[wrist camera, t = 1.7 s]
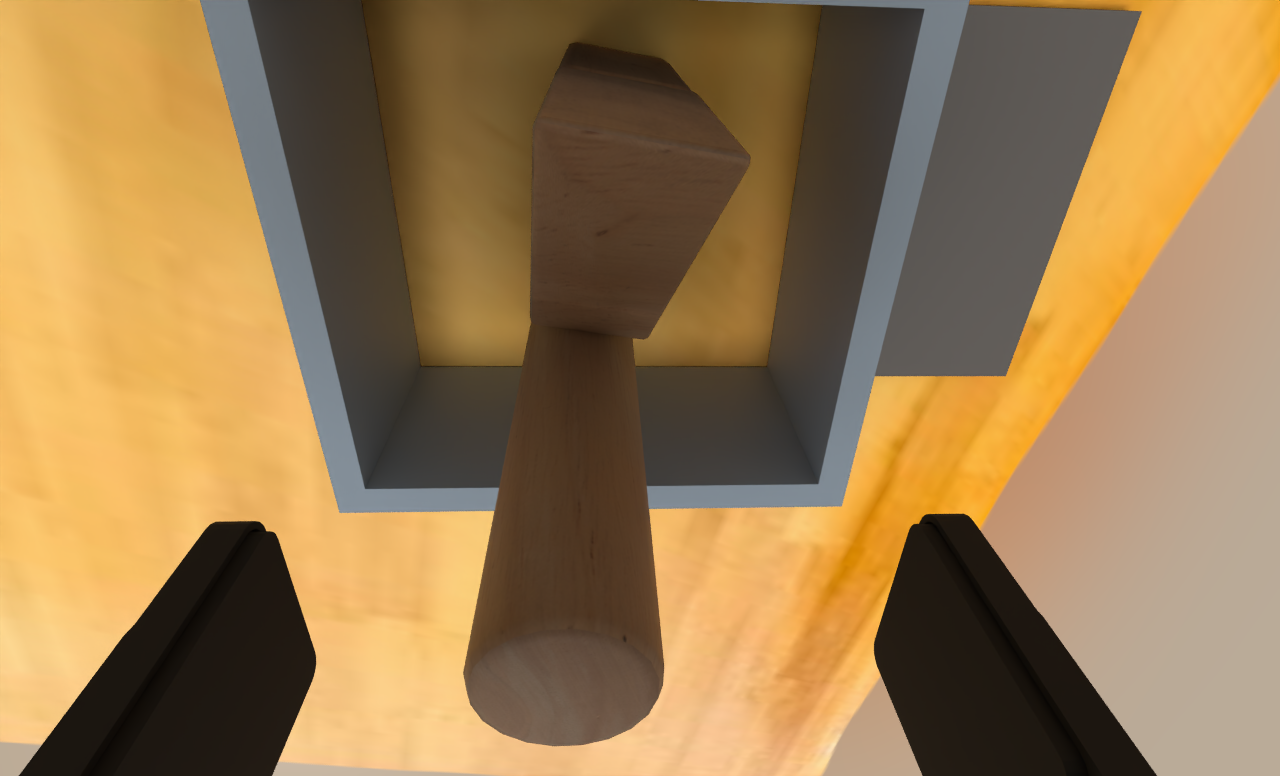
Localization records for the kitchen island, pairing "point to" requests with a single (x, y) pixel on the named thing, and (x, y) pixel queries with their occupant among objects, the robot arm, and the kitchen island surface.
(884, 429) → the kitchen island surface
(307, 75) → the box
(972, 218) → the place mat
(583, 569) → the brown piece
